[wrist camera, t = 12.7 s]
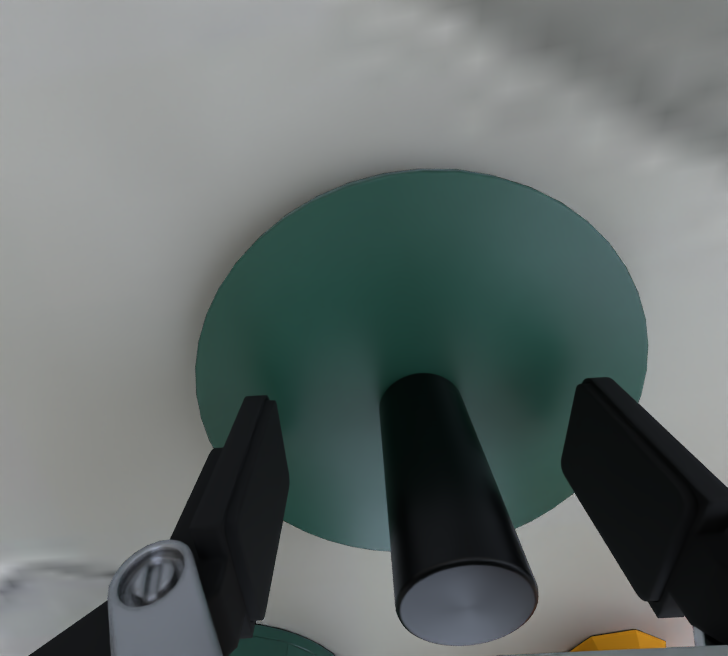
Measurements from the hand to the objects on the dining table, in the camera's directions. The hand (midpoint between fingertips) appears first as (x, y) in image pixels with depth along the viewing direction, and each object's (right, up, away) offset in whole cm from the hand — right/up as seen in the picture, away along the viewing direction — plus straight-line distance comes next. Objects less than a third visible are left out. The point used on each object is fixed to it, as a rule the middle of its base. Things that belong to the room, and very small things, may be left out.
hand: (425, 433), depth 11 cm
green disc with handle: (0, +1, +1) cm, 2 cm away
